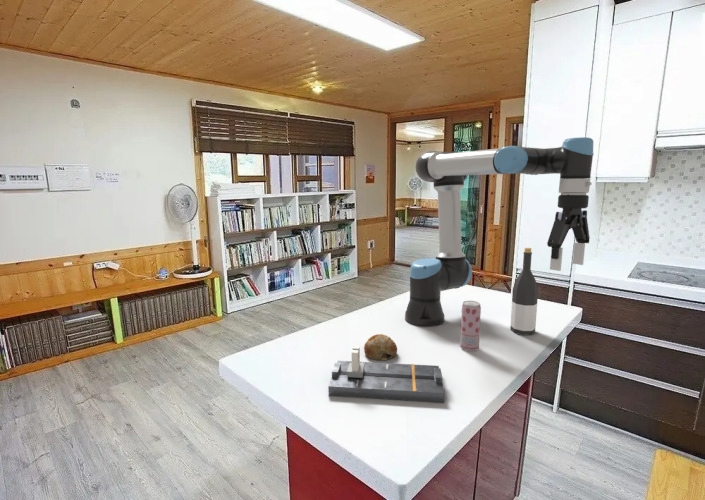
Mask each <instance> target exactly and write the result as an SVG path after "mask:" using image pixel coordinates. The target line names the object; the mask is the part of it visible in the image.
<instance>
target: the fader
mask: <svg viewBox="0 0 705 500" xmlns="http://www.w3.org/2000/svg"><path fill="white" fill-rule="evenodd" d="M360 348H361V346H360V345H359V346H358V345H356V346H355V345H354V346H353V347H352V350H351V361H352V363H349V366H348V370H347V377H356V378H363V373H364V363H360V362H361V361H360V360H361V359H360V356H361V355H360V354H361V353H360V352H361V349H360Z"/></svg>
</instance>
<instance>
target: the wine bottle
mask: <svg viewBox="0 0 705 500" xmlns="http://www.w3.org/2000/svg"><path fill="white" fill-rule="evenodd" d="M532 255H533V252H532V248H531V247H524V252H523V259H522V261H523V263H522V270H521V272H520V273H519V274H518V276H517V277H516V278H515V281H514V283H513V287H512V294H511V295H512V296H511V297H512V298H511V312H510V313H511V314H510V327H509V328H510V330H511V332H513V333H514V334H518V335H521V336H532V335H534V334H535V333H536V326H537V311H538V297H539V288H538V284H537V280H536V278H535V276H534V275H533V272H532V270H531V269H532Z"/></svg>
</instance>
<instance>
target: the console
mask: <svg viewBox="0 0 705 500" xmlns="http://www.w3.org/2000/svg"><path fill="white" fill-rule="evenodd" d="M349 363H352V360H337V362H334V364H333V367H332V370H331V377H330V378H331V379H330V381H329V384H328V386H327V387H328V388H327V389H328V391H327V392H328V396H329V397H331V396H332V397H344V398H345V397H346V398H360V399H361V398H363V399H379V400H394V401H405V402H406V401H410V402H425V403H441V404H444V403H445V390H444V385H443V374H442V369H441V367H440V365H431V364H430V365H429V364H414V363H411V364H410V363H390V362H389V363H388V362H371V361H369V362H367V361H360V363H364V373H363V378H356V377H347V370H348V366H349Z"/></svg>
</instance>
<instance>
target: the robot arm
mask: <svg viewBox="0 0 705 500" xmlns="http://www.w3.org/2000/svg"><path fill="white" fill-rule="evenodd" d="M593 158H594V139H593V138H591V137H583V136H582V137H581V136H580V137H570V138H566V139H563V142H562V145H561V146H559V147H548V148H540V147H528V146H527V147H526V146H518V145H507V146H503V147H500V148H490V149H481V150H472V151H471V150H470V151H468V150H467V151H461V152H455V151H437V150H428V151H424V153H422V154H420V155H419V156H418V158H417V160H416V162H415V173H416V174H417V176H418V178H420V179H421V180H422V181H424V182H428V183H433V189H434V190H435V191H437V212H438V214H437V215H438V216H437V218H438V243H439V244H438V245H439V246H438V248H439V251H438V253H437V254H436V255H435V258H432V257H431V258H421V259H417V260H415V261H413V262H412V263H411V265H410V270H409V301H408V304H407V307H406V310H405V313H404V319H405V321H406V322H407V323H409V324H412V325H415V326H420V327H435V326H439V325H443V323H444V322H445V312H444V310H443V307H442V303H441V293H442V292H443V291H444V292H445V291H448V290H453V289H459V288H462V287H465V286H467V285H468V284H469V282H470V281H471V279H472V275H473V268H472V267H473V266H472V265H471V264H470V262H469V261H468V259H466V256H467V255H466V254H465V253H464V252H463V251H462V218H461V217H462V216H461V215H462V213H461V212H462V211H461V190H462V189H463V188H464V187H465V181H466V180H467V179H468V176H477V175H478V176H479V175H481V176H482V175H509V174H510V175H516V174H520V175H523V174H525V175H531V176H533V175H535V176H537V175H550V174H554V175H555V174H557V175H558V174H559V175H560V176H559V186H558V193H559V196H558V198H557V207H558V208H559V209H562V211H556V212H555V217H554V221H553V224H552V226H551V227H552V228H551V230H550V233H549V236H548V240H547V242H546V245H547V247H549V248H551V250H550V260H549V261H550V262H549V263H550V264H549V270H550V271H556V272H557V271H558V272H561V271H562V259H563V251H564V248H563V247H562V245H563V243H564V241H565V239H566V237H567V234H568V233H569V231H570V230H572V232H573V235H574V236H573V237H574V239H575V242H574V244H573V254H572V265H580V266H583V265H584V261H585V248H586V244H589V243H590V237H591V236H590V231H589V223H588V211H587V210H586V209H587V208H588V207H589V201H590V200H589V199H590V198H589V197H590V196H589V194H588V193H590V186H592V181H591V179H592V176H591V174H592V166H593ZM583 209H585V210H583Z"/></svg>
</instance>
